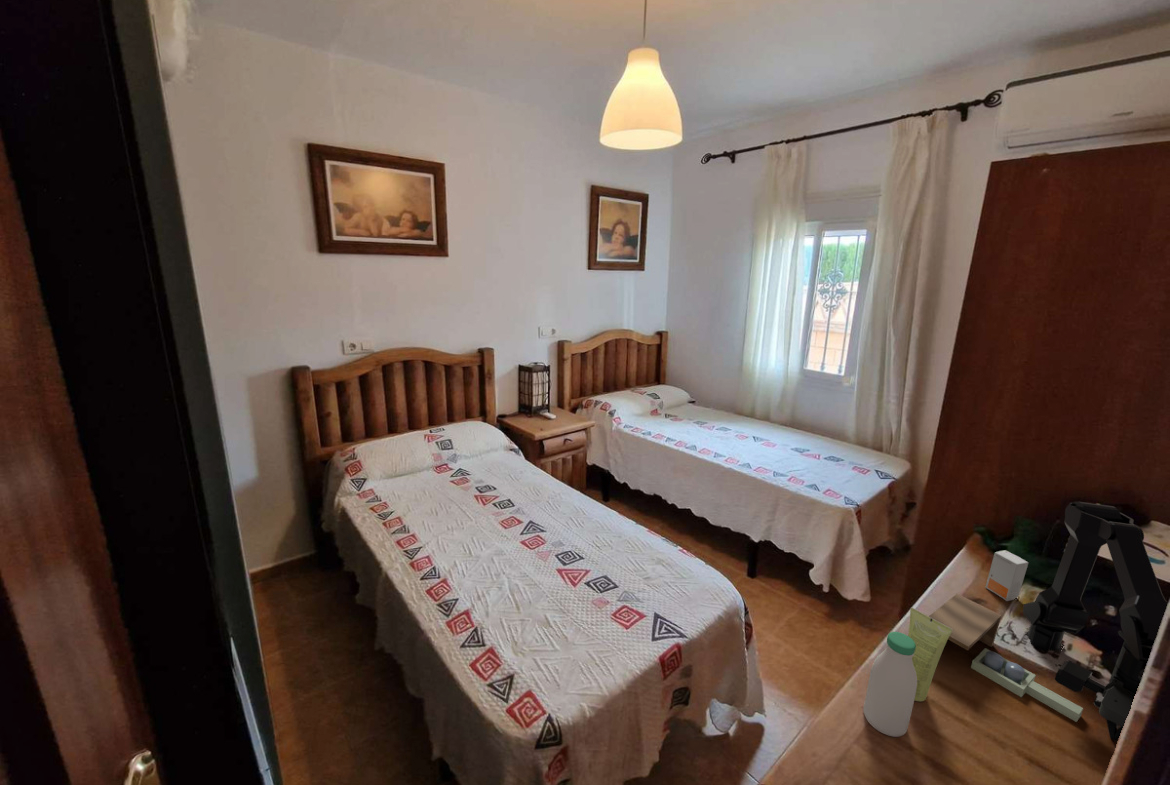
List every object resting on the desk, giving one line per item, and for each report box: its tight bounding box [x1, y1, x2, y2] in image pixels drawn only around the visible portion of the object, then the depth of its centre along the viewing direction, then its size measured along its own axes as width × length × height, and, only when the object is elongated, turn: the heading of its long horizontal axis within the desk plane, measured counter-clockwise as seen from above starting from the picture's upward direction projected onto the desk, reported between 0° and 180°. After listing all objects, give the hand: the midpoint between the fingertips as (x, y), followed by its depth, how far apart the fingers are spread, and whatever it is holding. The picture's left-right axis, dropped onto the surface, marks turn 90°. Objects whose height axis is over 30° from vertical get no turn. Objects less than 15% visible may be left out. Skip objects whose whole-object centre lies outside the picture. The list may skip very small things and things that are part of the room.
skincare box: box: [985, 549, 1029, 602], centre depth 132 cm, size 6×4×12 cm
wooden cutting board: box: [928, 593, 1002, 651], centre depth 112 cm, size 18×9×10 cm, turn 122°
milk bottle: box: [862, 631, 917, 738], centre depth 94 cm, size 8×8×20 cm
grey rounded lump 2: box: [1003, 661, 1026, 685], centre depth 104 cm, size 3×3×4 cm
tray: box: [970, 647, 1084, 723], centre depth 102 cm, size 7×17×3 cm, turn 32°
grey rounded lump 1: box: [983, 650, 1004, 673], centre depth 107 cm, size 3×3×4 cm
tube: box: [907, 607, 953, 702], centre depth 100 cm, size 6×5×20 cm
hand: (1113, 738), depth 92 cm, fingers closed
